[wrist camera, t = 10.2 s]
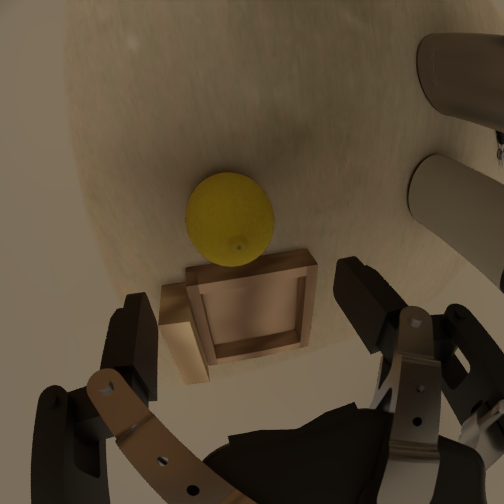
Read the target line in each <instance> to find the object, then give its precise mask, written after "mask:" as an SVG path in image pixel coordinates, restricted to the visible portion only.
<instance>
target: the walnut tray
mask: <svg viewBox="0 0 504 504" xmlns="http://www.w3.org/2000/svg"><path fill="white" fill-rule="evenodd" d="M317 269H318V264H317V262H316V261H315V259H314V258H313V257H312V255H311V254H310V252H309V251H308V250H307V249H302V250H296V251H290V252H283V253H277V254H271V255H265V256H259V257H258V258H256V259H255V260H253V261H251V262H250V263H247V264H244V265H241V266H234V267H229V266H221V265H218V264H215V263H214V264H208V265H201V266H195V267H189V268H186V290H187V293H188V297H189V301H190V305H191V308H192V312H193V315H194V319H195V322H196V326H197V329H198V333H199V336H200V339H201V343H202V346H203V349H204V352H205V355H206V359H207V362H208V365H209V366H210V365H216V364H223V363H229V362H235V361H240V360H246V359H251V358H256V357H261V356H266V355H271V354H276V353H280V352H285V351H289V350H293V349H297V348H302V347H306V346H308V344H309V337H310V330H311V322H312V314H313V306H314V298H315V289H316V279H317Z"/></svg>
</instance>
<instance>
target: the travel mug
mask: <svg viewBox="0 0 504 504" xmlns="http://www.w3.org/2000/svg"><path fill="white" fill-rule="evenodd" d="M408 199H409V208H410V211H411V214H412V216H413V217H414V218H415V219H416V220H417V221H418V222H420V223H421V224H422V225H424V226H425V227H426V228H428V229H429V230H430V231H432V232H433V233H434V234H436V235H437V236H438V237H440V238H441V239H442V240H444V241H445V242H446V243H447V244H449V245H450V246H451V247H452V248H454V249H455V250H456V251H457V252H458V253H460V254H461V255H462V256H463V257H464V258H466V259H467V260H468V261H469V262H470V263H471V264H472V265H474V266H475V267H476V268H477V269H478V270H479V271H480V272H482V273H483V274H484V275H485V276H486V277H487V278H488V279H489V280H490V281H491V282H492V283H493V284H494V285H495V286H497V287H498V288H499V289H500V290H501V291H502V292H503V293H504V185H503V184H502V183H500V182H498V181H496V180H494V179H492V178H490V177H488V176H486V175H484V174H482V173H480V172H478V171H476V170H474V169H472V168H470V167H468V166H466V165H463V164H461V163H459V162H457V161H454V160H452V159H450V158H447V157H445V156H442V155H432V156H430V157H428V158H427V159H425V160H424V161H423V162H422V163H421V164H420V166H419V167H418V168H417V170H416V172H415V174H414V176H413V178H412V181H411V184H410V189H409V198H408Z"/></svg>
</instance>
